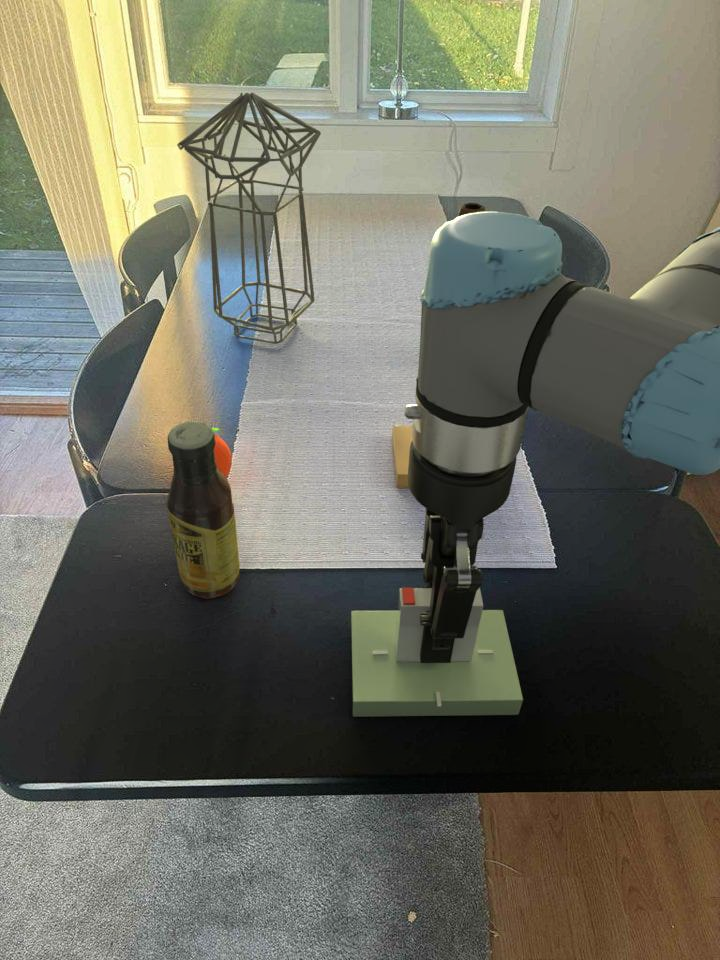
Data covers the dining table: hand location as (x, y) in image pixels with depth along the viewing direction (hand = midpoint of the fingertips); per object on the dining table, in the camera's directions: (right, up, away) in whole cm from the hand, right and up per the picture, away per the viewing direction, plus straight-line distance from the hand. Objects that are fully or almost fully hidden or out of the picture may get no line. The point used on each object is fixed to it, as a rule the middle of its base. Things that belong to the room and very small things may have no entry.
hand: (433, 646), depth 64 cm
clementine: (-25, +15, +22) cm, 37 cm away
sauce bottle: (-22, +4, +10) cm, 25 cm away
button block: (+4, +18, +26) cm, 31 cm away
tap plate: (0, -3, +2) cm, 3 cm away
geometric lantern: (-22, +40, +51) cm, 68 cm away
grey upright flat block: (0, -1, +1) cm, 1 cm away
